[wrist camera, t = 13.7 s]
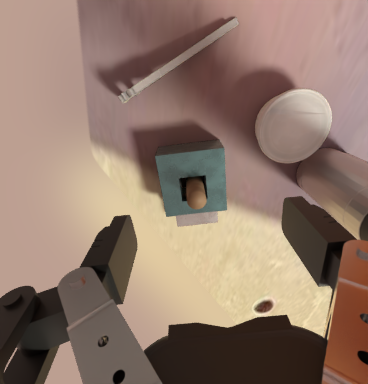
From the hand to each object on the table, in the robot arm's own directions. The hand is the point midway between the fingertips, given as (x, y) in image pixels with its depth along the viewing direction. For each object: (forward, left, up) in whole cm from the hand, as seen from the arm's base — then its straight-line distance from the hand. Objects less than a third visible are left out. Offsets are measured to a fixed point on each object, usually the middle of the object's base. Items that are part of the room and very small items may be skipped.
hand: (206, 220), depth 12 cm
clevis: (+1, +11, -30) cm, 32 cm away
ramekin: (-16, +2, -30) cm, 34 cm away
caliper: (+1, -9, -31) cm, 32 cm away
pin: (0, +10, -30) cm, 32 cm away
